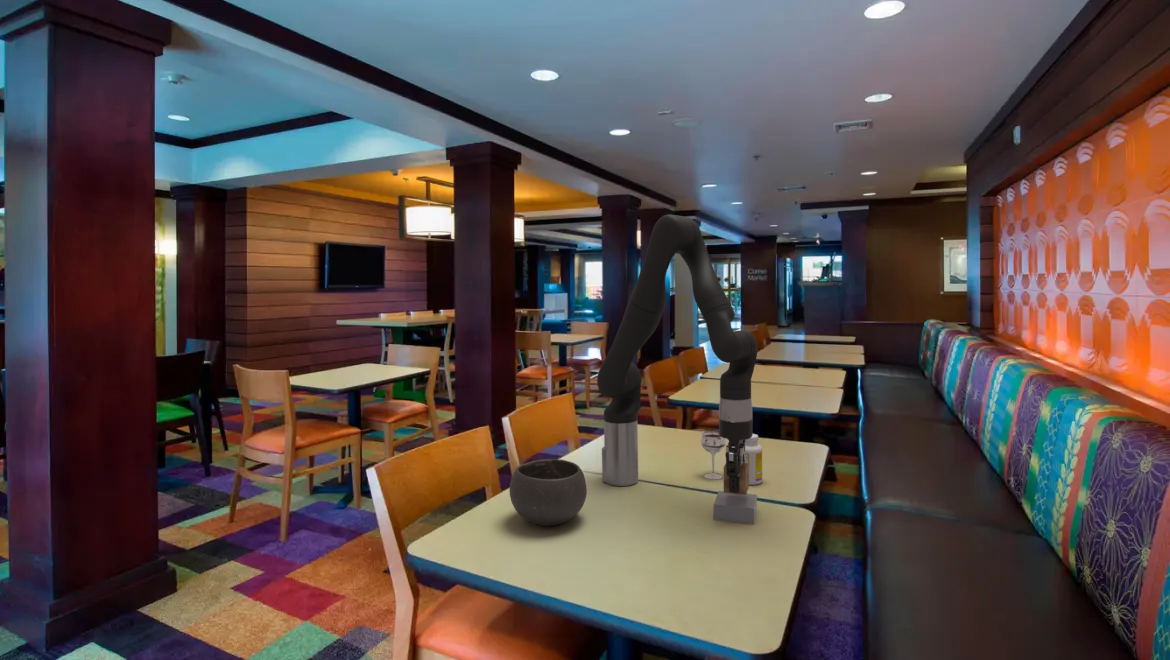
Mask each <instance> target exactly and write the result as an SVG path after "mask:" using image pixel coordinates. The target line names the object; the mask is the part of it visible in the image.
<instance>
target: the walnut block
mask: <svg viewBox="0 0 1170 660" xmlns="http://www.w3.org/2000/svg"><path fill="white" fill-rule="evenodd" d="M731 471H735V468H731ZM726 472H727V471H726V463H725V464H724V466H723V491H724V493H731V494H740V495H746V494H748V490H749V488H750V485H749V463H742V466H741V467H740V476H739V492H738V493H735V492H730V491H729V476H727V474H726Z"/></svg>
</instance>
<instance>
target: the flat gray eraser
mask: <svg viewBox="0 0 1170 660" xmlns="http://www.w3.org/2000/svg"><path fill="white" fill-rule="evenodd" d="M757 510H758V495H757V494H754V493H753V494H752V493H746V495H740V494H731V493H724V490H718V491H717V495H716V497H715V499H714V502H713V520H714V521H722V522H728V523H729V522H732V523H740V524H747V525H755V522H756V517H757V516H756V515H757Z"/></svg>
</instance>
